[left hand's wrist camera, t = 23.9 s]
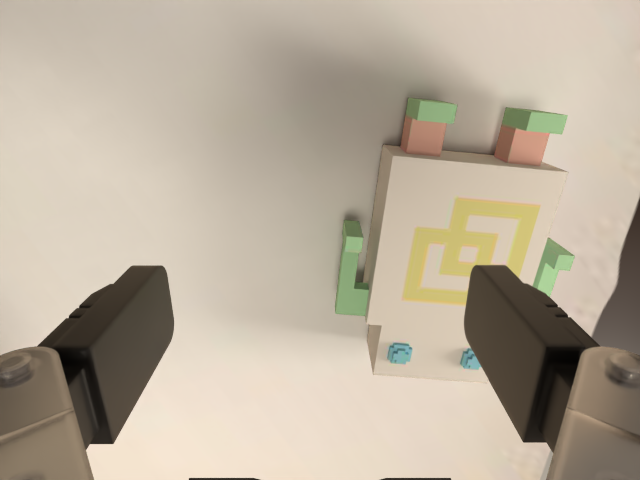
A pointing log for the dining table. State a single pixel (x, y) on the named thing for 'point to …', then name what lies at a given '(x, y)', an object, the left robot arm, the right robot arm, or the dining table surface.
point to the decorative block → (449, 237)
